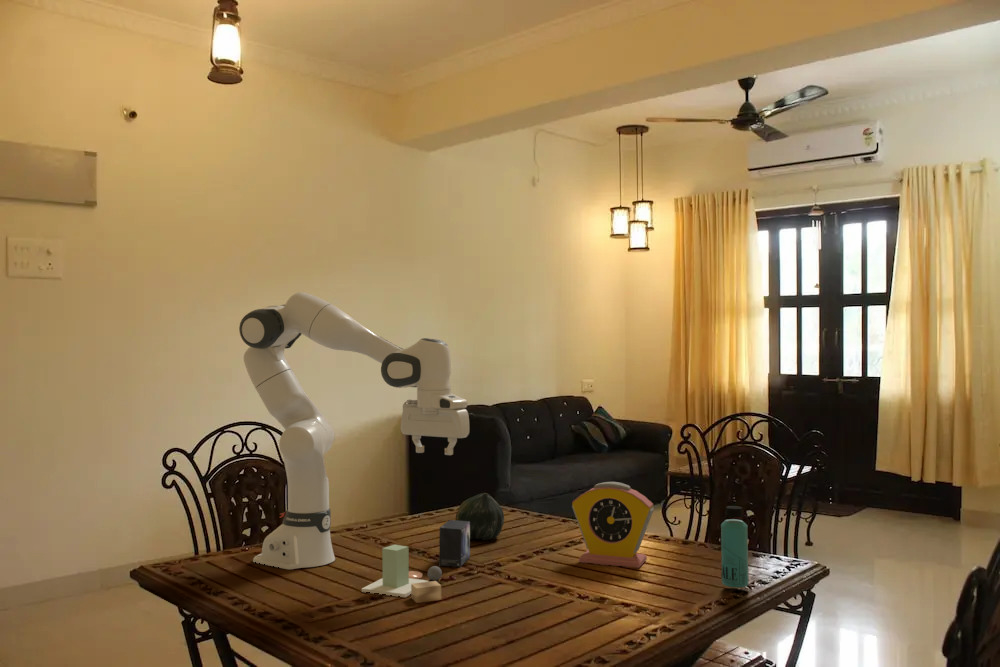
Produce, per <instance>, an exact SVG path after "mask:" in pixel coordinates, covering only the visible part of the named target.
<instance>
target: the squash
mask: <svg viewBox="0 0 1000 667" xmlns="http://www.w3.org/2000/svg"><path fill="white" fill-rule="evenodd" d="M454 520H457V521H470V540H471V539H476V540H482V541H484V540H485V541H484V542H487V541H490V539H492V540H493V539H496V538H497V537H498V536H499V535H500V533H501V532H502V530H503V527H504V523H505V515H504V511H503V508H502V507H501V505H500V504H499V503H498V501H496V500H495V498H493V497H492V496H491V495H490V494H489V493H486V492H482V493H479V494H476V495H474V496H471V497H469V498H467V499H466V500H464V501H463V502H462V503H461V504H460V505H459V507H458V509H457V511H456V514H455V519H454Z"/></svg>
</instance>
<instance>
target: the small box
mask: <svg viewBox="0 0 1000 667" xmlns="http://www.w3.org/2000/svg"><path fill="white" fill-rule="evenodd" d="M438 534H439V544H438V545H439V550H438V552H439V553H438V556H439V557H438V567H449V566H452V567H451V568H453V567H454V568H461V567H463V565H465V563H467V561H468V560H470V558H471V547H470V546H471V541H470V540H471V538H470V521H457V520H455V519H449V520H448V521H446V522H445V523H444V524H442V525H441V526H440V527H439V533H438Z"/></svg>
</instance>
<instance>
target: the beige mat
mask: <svg viewBox="0 0 1000 667" xmlns="http://www.w3.org/2000/svg"><path fill="white" fill-rule="evenodd" d="M422 582H430V579H429V580H428V579H421V578H420V579H411V578H409V584H406V585H404V586H401V587H399V588H393V587H388V586H383V577H382V578H379V579H377V580H376V581H374V582H372V583H370V584H367V585H366V586H364V587H362V588H361V592H362V593H366V592H370V593H369V594H374V593H379V594H378V595H382V594H386V595H385V596H390V595H392V596H391V597H398V596H400V597H399V598H407V597H409V596H411V595H410V594H411V584H414V583H422Z"/></svg>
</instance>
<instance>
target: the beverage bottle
mask: <svg viewBox="0 0 1000 667" xmlns="http://www.w3.org/2000/svg"><path fill="white" fill-rule="evenodd" d="M724 514H725V515H724V516H725V517H729V518H731V519H725V520H724V521H723V522H722V523H721V524H720V528H721V529H720V530H721V532H720V547H721V548H720V549H721V550H720V552H721V557H720V559H721V573H720V575H721V577H720V578H721V579H720V580H721V582H722V585H724V586H726V587H729V588H746V587H748V586H749V579H750V578H749V577H750V575H749V571H750V569H749V554H748V553H749V547H748V541H749V540H748V527H749V526H748V524H747V523H746V522H744V521H743V520H742V519H735V518H741V517H744V513H743V507H741V506H737V505H727V506H725V513H724Z"/></svg>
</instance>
